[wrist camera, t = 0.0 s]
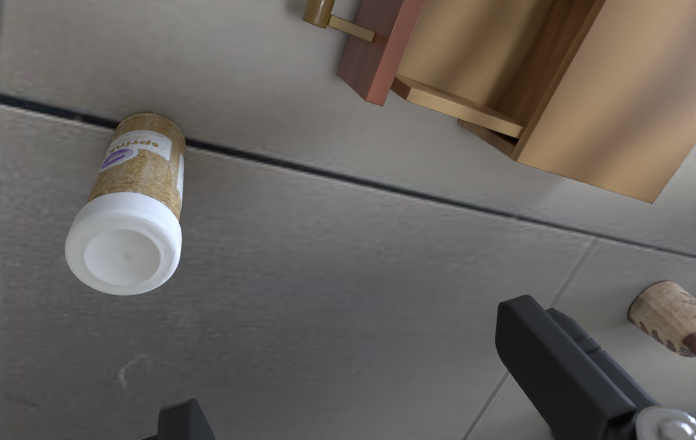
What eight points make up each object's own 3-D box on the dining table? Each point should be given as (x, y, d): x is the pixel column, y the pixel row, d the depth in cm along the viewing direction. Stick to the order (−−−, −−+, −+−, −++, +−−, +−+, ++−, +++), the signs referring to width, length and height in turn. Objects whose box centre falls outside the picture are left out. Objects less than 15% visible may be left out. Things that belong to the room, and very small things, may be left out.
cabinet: (457, 122, 36) (515, 162, 29) (538, -49, 31) (632, -47, 24) (580, 163, 42) (652, 204, 35) (666, 26, 37) (769, 43, 30)
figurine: (649, 325, 60) (736, 399, 51) (617, 318, 57) (704, 396, 47) (685, 285, 58) (785, 354, 48) (654, 275, 55) (754, 347, 45)
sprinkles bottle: (147, 96, 29) (115, 191, 18) (201, 145, 31) (202, 255, 20) (96, 142, 29) (35, 262, 18) (153, 186, 32) (130, 315, 21)
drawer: (277, 54, 29) (294, 78, 23) (337, -157, 24) (375, -184, 19) (488, 126, 36) (537, 156, 31) (565, -25, 31) (638, -20, 26)
